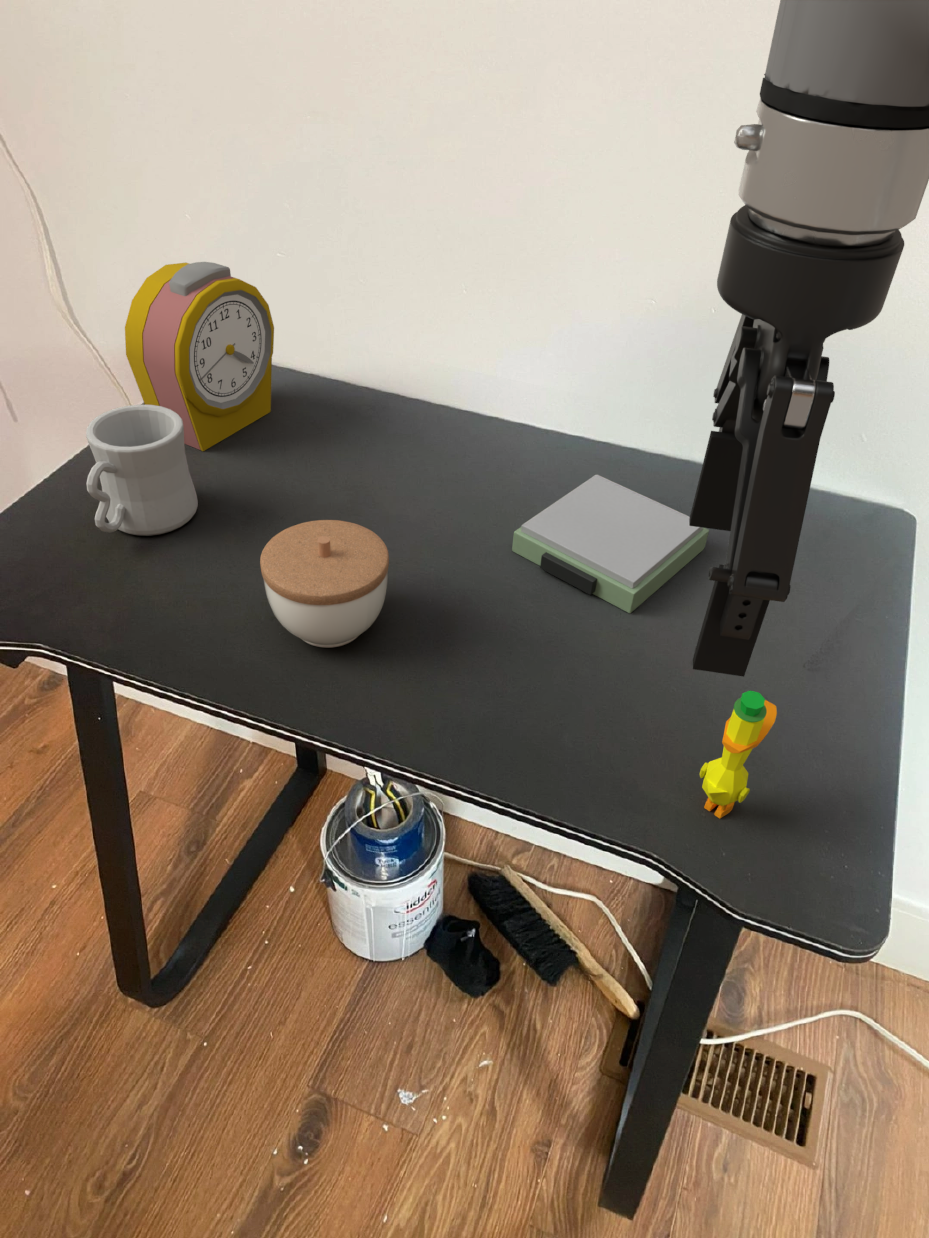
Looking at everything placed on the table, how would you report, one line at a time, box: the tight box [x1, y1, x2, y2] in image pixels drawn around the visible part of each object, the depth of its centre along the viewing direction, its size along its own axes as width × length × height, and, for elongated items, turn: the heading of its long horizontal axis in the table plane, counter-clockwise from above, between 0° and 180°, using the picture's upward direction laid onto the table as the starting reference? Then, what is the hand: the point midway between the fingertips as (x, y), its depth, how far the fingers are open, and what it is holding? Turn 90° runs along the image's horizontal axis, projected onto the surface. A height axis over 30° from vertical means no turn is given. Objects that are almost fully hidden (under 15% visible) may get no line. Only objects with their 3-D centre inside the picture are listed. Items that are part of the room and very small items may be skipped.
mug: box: [85, 404, 199, 537], centre depth 89 cm, size 12×9×10 cm
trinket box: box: [259, 519, 390, 648], centre depth 79 cm, size 11×11×9 cm
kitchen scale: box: [511, 474, 710, 614], centre depth 91 cm, size 14×15×3 cm
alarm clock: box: [124, 261, 275, 452], centre depth 102 cm, size 15×8×18 cm, turn 148°
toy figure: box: [699, 690, 778, 820], centre depth 65 cm, size 7×4×12 cm, turn 137°
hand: (713, 590), depth 54 cm, fingers open, 13 cm apart
